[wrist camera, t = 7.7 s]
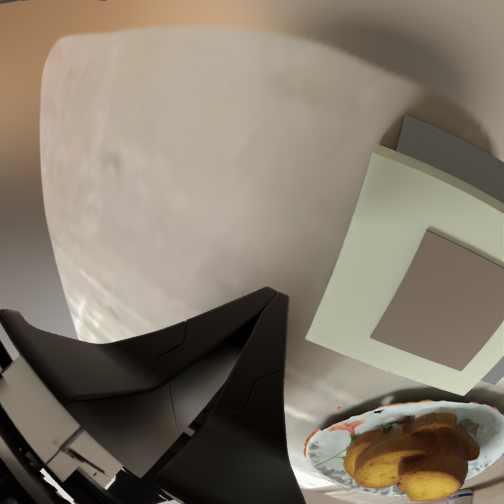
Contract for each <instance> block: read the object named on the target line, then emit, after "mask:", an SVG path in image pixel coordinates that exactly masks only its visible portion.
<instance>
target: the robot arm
mask: <svg viewBox="0 0 504 504" xmlns="http://www.w3.org/2000/svg"><path fill="white" fill-rule="evenodd" d="M288 313H289V296H288V295H286V294H283V293H281V292H278V293H277V291H276V290H274V289H272V288H269V287H264V288H262V289H259V290H257V291H255V292H252V293H250V294H248V295H246V296H243V297H241V298H238V299H236V300H234V301H231V302H229V303H227V304H224V305H222V306H219V307H217V308H215V309H212V310H210V311H207V312H205V313H203V314H200V315H198V316H195V317H193V318H190V319H188V320H186V322H185V321H183V322H180V323H178V324H175V325H172V326H170V327H167V328H164V329H161V330H158V331H154V332H151V333H148V334H144V335H140V336H136V337H132V338H128V339H124V340H120V341H116V342H112V343H105V344H94V343H88V342H84V341H80V340H76V339H72V338H68V337H64V336H60V335H57V334H53V333H50V332H46V331H43V330H40V329H37V328H35V327H33V326H32V325H30V324H29V323H28V322H27V321H26V320H25V319H24V318H23V316H22V315H21V314H20V313H19V312H18V311H14V310H8V309H1V310H0V323H1V325H2V327H3V328H4V330H5V332H6V333H7V335H8V337H9V338H10V340H11V341H12V343H13V345H14V346H15V348H16V349H17V351H18V352H19V354H20V355H19V356H18V357H17V358H16V359H15V360H14V361H13V360H12V358H11V356H10V355H9V353H8V352H7V350H6V348H5V347H4V345H3V344H2V342H1V340H0V504H71V503H70V502H69V501H68V500H66V499H64V498H63V497H62V496H61V495H60V494H59V493H58V492H57V491H58V490H57V489H56V488H55V487H54V486H52V485H51V484H49V483H48V482H46V481H45V480H44V479H43V478H44V477H45V476H44V475H43V474H42V473H41V472H40V470H41V469H42V468H44V469H45V470H46V472H47V473H48V474H49V475H50V476H51V477H52V478H53V479H54V480H55V481H56V482H57V483H58V485H59V486H60V487H61V488H62V489H63V490H64V491H66V493H67V494H68V495H69V496H71V497H72V498H73V499H74V501H73V502H74V503H75V504H158V503H161V502H165V501H171V500H176V501H177V502H179V503H180V504H306V502H305V499H304V497H303V494H302V492H301V490H300V487H299V485H298V482H297V480H296V477H295V475H294V472H293V470H292V467H291V465H290V461H289V456H288V449H287V439H286V425H285V413H284V378H285V372H284V371H285V362H286V348H287V331H288ZM115 475H116V478H115V481H114V482H113V483H112V484H111V486H110V487H109V488H108V489H107V490H106V489H105V488H104V487H105V486H106V485H107V484H108V483H109V482H110V481H111V479H112V478H113V477H114V476H115Z"/></svg>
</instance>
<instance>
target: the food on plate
mask: <svg viewBox="0 0 504 504" xmlns="http://www.w3.org/2000/svg"><path fill="white" fill-rule="evenodd" d="M339 408H340V407H338V408H337V409H339ZM383 409H384V410H383ZM379 410H383V411H382V412H381V413H373V412H374V411H379ZM382 413H383V414H382ZM400 415H403V416H411V417H410V418H408V421H406V422H405V423H403V424H399V423H397V422H393V423H385V424H384V425H383V426H377V425H379V424H382V423H383V422H384V420H385V419H387V418H391V417H396V416H400ZM464 419H469V420H470V421H472V422H473V423H478V424H479V425H480V427H479V428H478V430H477V435H476V436H474V435H473V434H472V433H471V432H469V431H468V430H466V428H465V425H464V424H463V420H464ZM304 445H305V449H304V450H305V451H304V455H305V458H306V459H307V461H308V463H309V465H310V467H311V468H312V469H313V470H314V471H315V472H316V473H318V474H319V475H320V476H322V477H323V478H325V479H327V480H328V481H331V482H334V483H336V484H338V485H339V486H342V487H345V488H349V489H353V490H356V491H358V492H364V493H369V494H375V495H378V496H382V495H387V496H393V497H399V496H407V497H409V500H410V501H431V500H436V499H440V498H444V497H448V496H450V495H452V494H454V493H455V492H457V491H458V490H459V489H460V488H461V487H462V485H463V484H464V481H467V480H468V479H470V478H473V477H475V476H476V475H478V474H480V473H482V472H483V471H484V470H486V469H487V468H489V466H491V465H493V464H494V463H495V462H496V461H498V459H499V458H500V457H501V456H502V455H503V454H504V415H502V414H501V413H500V412H499V411H498V410H497V408H496V406H495V407H491V406H490V405H486V404H483V405H480V404H478V403H476V402H470V403H457V402H447V401H445V400H443V401H439V402H434V401H432V400H429V399H428V400H422V401H419V402H417V403H416V402H407V403H404V404H403V403H396V404H390V405H383V406H379V408H377V409H375V410H373V411H369V412H366V413H364V414H362V415H359V416H352V417H350V418H349V419H348V420H345V421H342V422H339V423H337V424H334V425H332V426H330V427H329V428H327V429H324V430H323V431H321V430H320V429H317V430H316V431H315V432H313V433H312V434H311V435H310V436H309V438H307V440H306V443H305V444H304Z"/></svg>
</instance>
